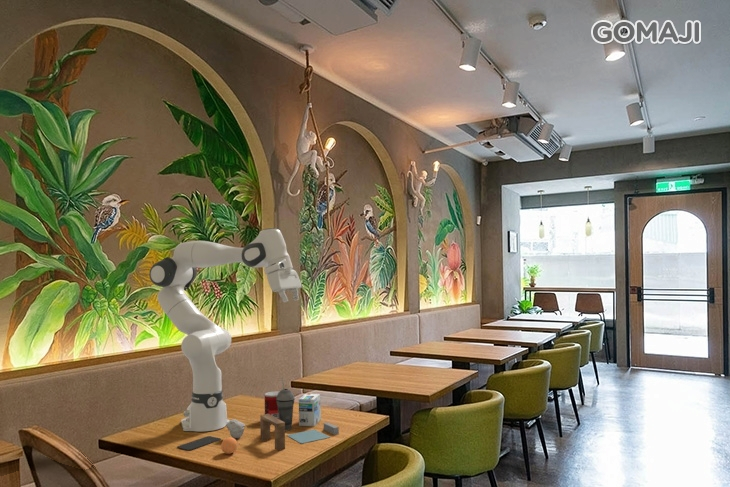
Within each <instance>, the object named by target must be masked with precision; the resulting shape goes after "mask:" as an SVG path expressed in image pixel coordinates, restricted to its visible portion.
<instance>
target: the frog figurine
mask: <svg viewBox="0 0 730 487" xmlns="http://www.w3.org/2000/svg"><path fill="white" fill-rule="evenodd" d="M229 420H230V422H228V423H227V424H226V428H227V430H228V431H229V434H230V437H232V438H234V439H240V438H241V437H242V436H243V434H244V431H245V427H246V425H245V423H243V422H241V421H239V420H237V419H236V418H233V419H229Z"/></svg>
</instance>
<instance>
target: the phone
mask: <svg viewBox="0 0 730 487" xmlns="http://www.w3.org/2000/svg"><path fill="white" fill-rule="evenodd" d="M221 440H222V438H220V437H216V436H211V435H207V436H204V437H201V438H198V439H195V440H192V441H189V442H185V443H183V444H180V445H178V446H177V447H176V449H179V450H182V451H186V452H191V451H194V450H197V449H201V448H203V447H205V446H208V445H210V444H214V443H217V442H219V441H221Z"/></svg>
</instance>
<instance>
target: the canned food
mask: <svg viewBox="0 0 730 487" xmlns="http://www.w3.org/2000/svg"><path fill="white" fill-rule="evenodd" d="M280 391H281V390H279V391H278V390H277V391H276V390H274V391H269V392H267V391H266V392H265V393H264V414H270V415H271V416H273V417H275V418H277V419H279V416H278V406H277V401H276V399H277V395H278V393H279V392H280Z"/></svg>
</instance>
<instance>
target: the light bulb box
mask: <svg viewBox="0 0 730 487" xmlns="http://www.w3.org/2000/svg"><path fill="white" fill-rule="evenodd" d="M321 396H322V395H321V393H305V394H303V395H302V396H301V397H300V398H298V425H299V426H298V427H300V426H301V427H315V426H317V424H319V422H320V421H321V420H322V414H321V413H322V410H321V409H322V406H321V405H322V403H321Z"/></svg>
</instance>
